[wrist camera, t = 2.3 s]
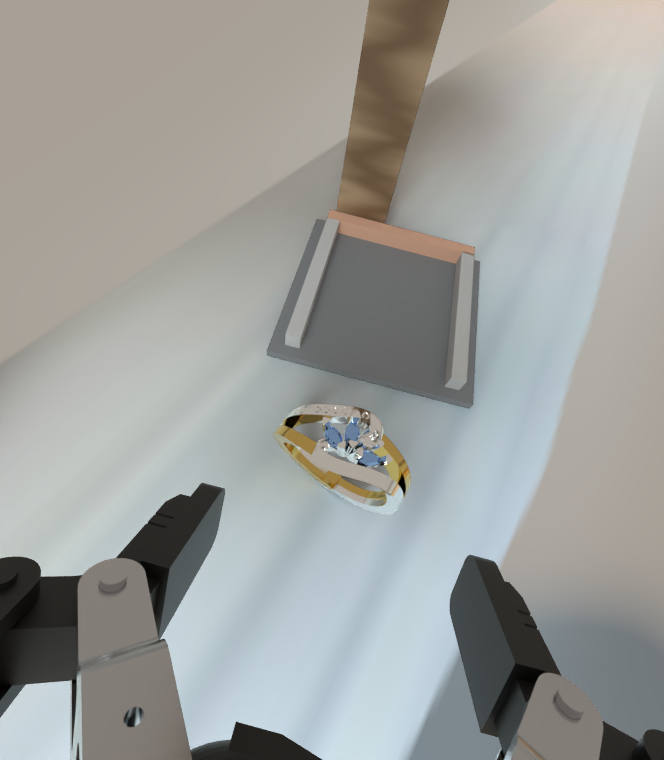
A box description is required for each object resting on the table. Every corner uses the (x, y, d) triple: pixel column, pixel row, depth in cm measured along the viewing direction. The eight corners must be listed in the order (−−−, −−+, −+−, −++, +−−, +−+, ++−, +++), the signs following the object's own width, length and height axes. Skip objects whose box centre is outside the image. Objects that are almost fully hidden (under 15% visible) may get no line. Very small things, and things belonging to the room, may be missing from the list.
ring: (393, 496, 22) (446, 454, 15) (364, 544, 21) (408, 522, 14) (298, 427, 24) (307, 359, 17) (264, 468, 22) (258, 413, 15)
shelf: (307, 307, 28) (456, -1137, 5) (346, 192, 35) (486, -623, 11) (491, 355, 28) (1594, -845, 5) (494, 231, 35) (941, -506, 11)
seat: (267, 355, 26) (266, 340, 24) (316, 224, 32) (318, 206, 31) (468, 408, 26) (481, 396, 24) (476, 266, 32) (486, 250, 31)
